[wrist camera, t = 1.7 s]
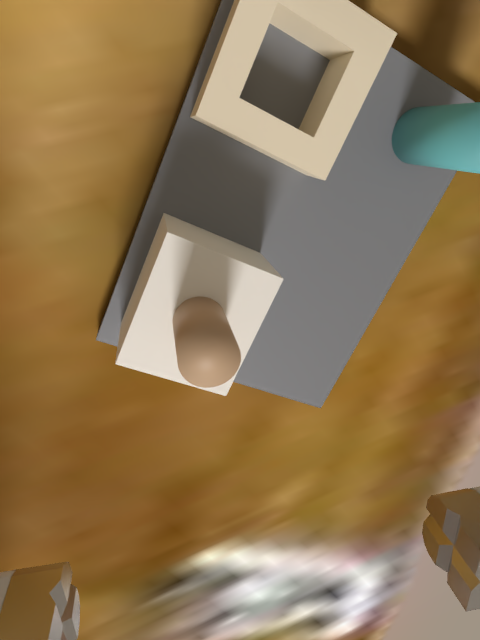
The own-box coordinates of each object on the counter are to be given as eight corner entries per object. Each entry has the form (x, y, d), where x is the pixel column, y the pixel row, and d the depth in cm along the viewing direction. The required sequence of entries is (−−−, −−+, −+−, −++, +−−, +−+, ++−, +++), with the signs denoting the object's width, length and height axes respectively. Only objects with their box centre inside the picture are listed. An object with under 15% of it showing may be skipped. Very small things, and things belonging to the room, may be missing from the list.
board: (314, 398, 33) (336, 434, 29) (98, 331, 27) (90, 364, 24) (476, 112, 26) (531, 110, 23) (237, -43, 21) (256, -80, 18)
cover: (213, 353, 28) (240, 444, 20) (120, 323, 26) (108, 410, 18) (260, 252, 26) (310, 308, 18) (163, 212, 24) (171, 255, 16)
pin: (422, 172, 26) (510, 186, 20) (382, 150, 25) (461, 157, 19) (450, 122, 25) (551, 119, 19) (409, 96, 24) (502, 85, 18)
